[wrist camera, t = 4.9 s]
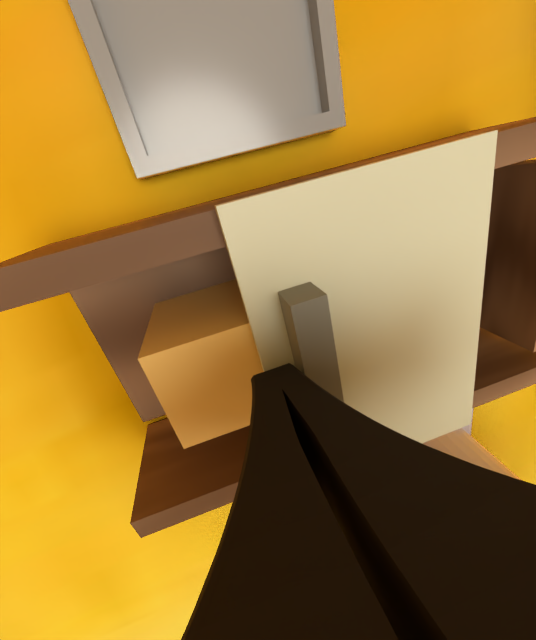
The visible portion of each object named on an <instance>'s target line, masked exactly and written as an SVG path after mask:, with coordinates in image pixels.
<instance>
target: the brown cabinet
mask: <svg viewBox="0 0 536 640" xmlns="http://www.w3.org/2000/svg"><path fill="white" fill-rule="evenodd" d="M494 130H498V134H497V144H496V155H495V166H494V177H493V188H492V199H491V210H490V221H489V231H488V242H487V253H486V264H485V275H484V286H483V297H482V308H481V318H480V329H479V340H478V351H477V362H476V373H475V384H474V395H473V405H472V408H474V407H477V406H480V405H482V404H485V403H487V402H490V401H492V400H495V399H497V398H500V397H503V396H505V395H508V394H510V393H513V392H515V391H518V390H521V389H523V388H526V387H528V386H531V385H533V384H536V160H528V159H531V158H535V157H536V117H534V118H529V119H524V120H520V121H515V122H510V123H506V124H501V125H496V126H492V127H487V128H482V129H478V130H473V131H469V132H465V133H461V134H458V135H454V136H450V137H447V138H443V139H439V140H435V141H432V142H428V143H424V144H420V145H417V146H413V147H409V148H406V149H402V150H398V151H394V152H391V153H387V154H383V155H380V156H376V157H372V158H368V159H365V160H361V161H357V162H354V163H350V164H346V165H342V166H339V167H335V168H331V169H328V170H324V171H320V172H316V173H313V174H309V175H305V176H302V177H298V178H294V179H290V180H287V181H283V182H279V183H276V184H272V185H268V186H264V187H261V188H257V189H253V190H250V191H246V192H242V193H238V194H235V195H231V196H227V197H224V198H220V199H216V200H212V201H209V202H205V203H201V204H198V205H194V206H190V207H186V208H183V209H179V210H175V211H172V212H168V213H164V214H160V215H157V216H153V217H149V218H145V219H142V220H138V221H134V222H131V223H127V224H123V225H119V226H116V227H112V228H108V229H105V230H101V231H97V232H93V233H90V234H86V235H82V236H79V237H75V238H71V239H67V240H64V241H60V242H56V243H53V244H49V245H46V246H43V247H40V248H38V249H35V250H32V251H30V252H27V253H25V254H22V255H19V256H17V257H14V258H11V259H9V260H6V261H3V262H1V263H0V312H1V311H5V310H8V309H12V308H15V307H19V306H22V305H26V304H29V303H33V302H36V301H39V300H43V299H46V298H50V297H53V296H57V295H60V294H64V293H67V292H70V294H71V295H72V297H73V299H74V301H75V302H76V304H77V306H78V308H79V309H80V311H81V313H82V315H83V317H84V318H85V320H86V322H87V324H88V325H89V327H90V329H91V331H92V332H93V334H94V336H95V338H96V339H97V341H98V343H99V345H100V346H101V348H102V350H103V352H104V353H105V355H106V357H107V359H108V361H109V362H110V364H111V366H112V368H113V369H114V371H115V373H116V375H117V376H118V378H119V380H120V382H121V383H122V385H123V387H124V389H125V390H126V392H127V394H128V396H129V398H130V399H131V401H132V403H133V405H134V406H135V408H136V410H137V412H138V413H139V415H140V417H141V419H142V420H143V422H145V421H148V420H151V419H154V418H157V417H160V416H163V415H165V414H166V413H165V411H164V409H163V407H162V406H161V404H160V402H159V400H158V398H157V396H156V394H155V392H154V390H153V388H152V386H151V384H150V382H149V380H148V378H147V376H146V374H145V372H144V371H143V369H142V367H141V365H140V363H139V361H138V356H139V353H140V350H141V346H142V343H143V340H144V337H145V334H146V330H147V327H148V324H149V321H150V318H151V314H152V311H153V308H154V305H155V303H158V302H162V301H165V300H168V299H172V298H175V297H178V296H181V295H185V294H188V293H191V292H195V291H198V290H201V289H205V288H208V287H211V286H214V285H218V284H221V283H224V282H228V281H231V280H234V279H236V277H235V273H234V270H233V267H232V263H231V260H230V257H229V253H228V250H227V246H226V243H225V240H224V236H223V233H222V230H221V226H220V223H219V219H218V216H217V213H216V209H215V205H218V204H222V203H226V202H229V201H233V200H237V199H240V198H244V197H248V196H251V195H255V194H259V193H263V192H266V191H270V190H274V189H277V188H281V187H285V186H288V185H292V184H296V183H299V182H303V181H307V180H310V179H314V178H318V177H322V176H325V175H329V174H333V173H336V172H340V171H344V170H347V169H351V168H355V167H358V166H362V165H366V164H369V163H373V162H377V161H380V160H384V159H388V158H392V157H395V156H399V155H403V154H406V153H410V152H414V151H417V150H421V149H425V148H428V147H432V146H436V145H439V144H443V143H447V142H451V141H454V140H458V139H462V138H465V137H469V136H473V135H476V134H480V133H484V132H489V131H494ZM524 160H526V161H524ZM249 428H250V425H249V426H246V427H243V428H241V429H238V430H235V431H232V432H230V433H227V434H224V435H221V436H219V437H216V438H213V439H210V440H208V441H205V442H202V443H199V444H197V445H194V446H191V447H188V448H186V449H184V448H183V446H182V444H181V442H180V441H179V439H178V437H177V435H176V433H175V431H174V429H173V427H172V425H171V423H170V421H169V419H168V418H167V419H164V420H161V421H158V422H155V423H152V424H149V425H148V428H147V433H146V439H145V444H144V450H143V456H142V461H141V467H140V472H139V478H138V483H137V489H136V494H135V500H134V506H133V511H132V517H131V522H130V524H131V525H132V526H133V528H134V529H135V530H136V532H137V533H138V534H139V536H140V537H141V538H142V537H144V536H147V535H150V534H152V533H155V532H157V531H160V530H162V529H165V528H167V527H170V526H173V525H175V524H178V523H180V522H183V521H185V520H188V519H190V518H193V517H196V516H198V515H201V514H203V513H206V512H208V511H211V510H214V509H216V508H219V507H221V506H224V505H226V504H229V503H231V502H233V500H234V497H235V493H236V489H237V486H238V482H239V478H240V474H241V470H242V466H243V461H244V456H245V451H246V445H247V440H248V434H249Z"/></svg>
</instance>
